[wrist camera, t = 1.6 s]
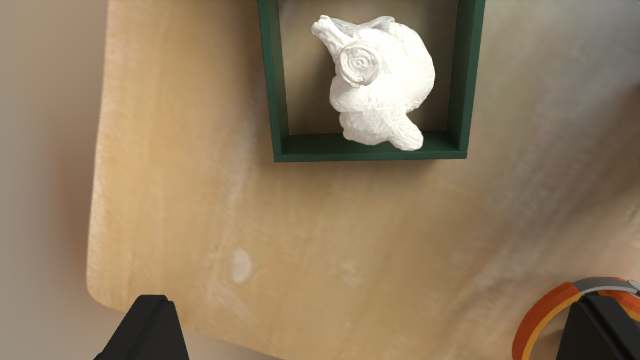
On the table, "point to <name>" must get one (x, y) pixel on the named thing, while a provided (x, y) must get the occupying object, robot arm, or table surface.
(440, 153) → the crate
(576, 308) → the robot arm
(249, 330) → the table surface
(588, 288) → the headphones
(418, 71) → the white squirrel figurine
